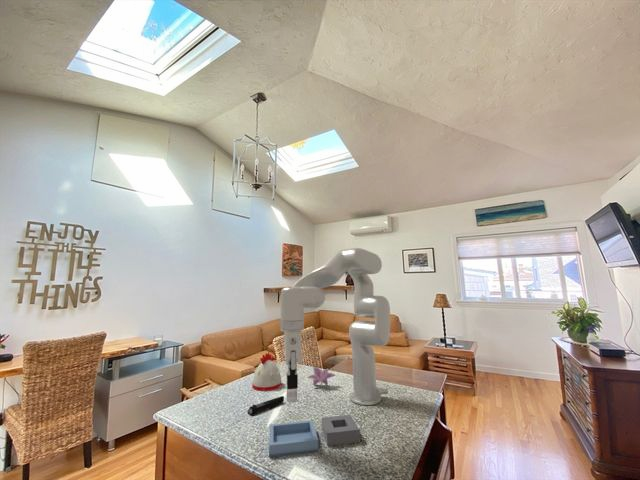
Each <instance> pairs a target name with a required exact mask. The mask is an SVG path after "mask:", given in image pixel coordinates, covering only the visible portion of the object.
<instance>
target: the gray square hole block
mask: <svg viewBox="0 0 640 480" xmlns="http://www.w3.org/2000/svg"><path fill="white" fill-rule="evenodd" d="M320 418H321V419H320V420H321V421H320V422H321V431H322V434H323V438H324V439H325V443H326V444H325V445H326V446H327V447H332V446H339V445H349V444H356V443H360V428H359V427H358V425H357V423H356V422H355V420H354V418H353V417H352V416H351V414H345V415H335V416H333V415H332V416H326V417H320Z"/></svg>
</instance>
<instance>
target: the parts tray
mask: <svg viewBox="0 0 640 480" xmlns="http://www.w3.org/2000/svg"><path fill="white" fill-rule="evenodd" d="M306 452H307V453H308V452H309V453H315V452H319V438H318V435H317V430H316V428H315V423H314V420H313V419H312V420H311V419H310V420H302V421H290V422H283V423H282V422H281V423H273V424H272V423H271V424H269V438H268V457H269V458H274V457H275V458H276V457H283V456H292V455H298V454H299V453H301V454H307V453H306ZM299 455H300V454H299Z"/></svg>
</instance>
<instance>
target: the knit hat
mask: <svg viewBox="0 0 640 480" xmlns="http://www.w3.org/2000/svg"><path fill="white" fill-rule="evenodd" d="M259 359H260V361H261V363H260V364H258V366H257V367H256V369H254V371H253V372H254V375H253V377H252V381H251V382H252V384H251V386H252V389H253V390H254V391H258V392H259V391H260V392H270V391H274V390H277V389H279V388H281V386H282V376H281V371H280V370H279V367H278V365H277V364H276V363H275V361H273V360H274V356H272V354H270V352H267V353H265V354H262V357H260V358H259Z"/></svg>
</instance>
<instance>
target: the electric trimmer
mask: <svg viewBox="0 0 640 480" xmlns="http://www.w3.org/2000/svg"><path fill="white" fill-rule="evenodd" d="M284 401H285V396H284V395H281V396H279V397H275V398H271V399H269V400H267V401H266V400H265V401H263V402H260V403H257V404H252V406H250V407H249V408H248V409H247V415H249V416H250V417H252V416H255V415H256V414H258V413H260V412H262V411H266V410H268V409H269V410H270V409H274V408H275V407H277V406H279V405H281V404H283V403H284Z"/></svg>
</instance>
